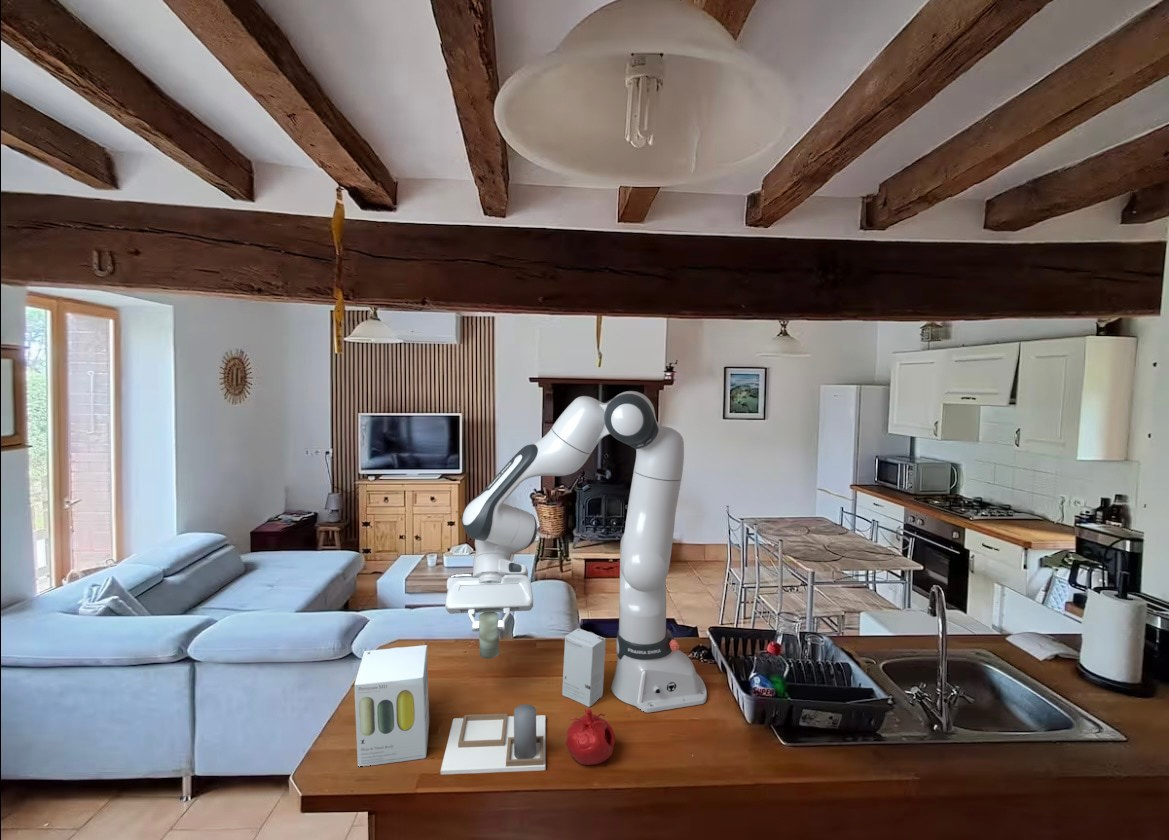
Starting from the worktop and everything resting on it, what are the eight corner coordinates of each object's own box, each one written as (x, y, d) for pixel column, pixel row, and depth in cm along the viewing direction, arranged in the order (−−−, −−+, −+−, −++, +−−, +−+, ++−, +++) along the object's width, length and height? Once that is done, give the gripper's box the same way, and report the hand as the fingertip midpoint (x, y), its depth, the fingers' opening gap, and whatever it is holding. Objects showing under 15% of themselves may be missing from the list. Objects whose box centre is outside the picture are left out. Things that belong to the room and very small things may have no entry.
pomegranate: (572, 777, 112) (571, 732, 111) (560, 742, 121) (559, 701, 120) (621, 766, 114) (621, 723, 113) (606, 733, 124) (605, 693, 123)
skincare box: (561, 696, 138) (561, 636, 136) (576, 684, 143) (576, 626, 141) (591, 708, 133) (591, 646, 131) (605, 696, 138) (606, 636, 136)
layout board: (545, 718, 129) (545, 676, 128) (545, 770, 113) (545, 723, 112) (453, 721, 128) (452, 679, 127) (440, 774, 112) (439, 726, 111)
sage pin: (500, 648, 136) (498, 611, 135) (498, 658, 132) (497, 620, 131) (480, 649, 136) (479, 612, 135) (478, 658, 131) (477, 620, 130)
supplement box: (356, 769, 113) (352, 684, 111) (366, 726, 126) (363, 649, 124) (426, 759, 116) (424, 676, 114) (429, 718, 129) (427, 643, 127)
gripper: (445, 568, 138) (439, 627, 129) (532, 565, 139) (532, 623, 131) (449, 579, 143) (444, 636, 134) (533, 576, 144) (533, 633, 136)
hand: (488, 630), depth 132 cm, fingers closed on sage pin, 4 cm apart
